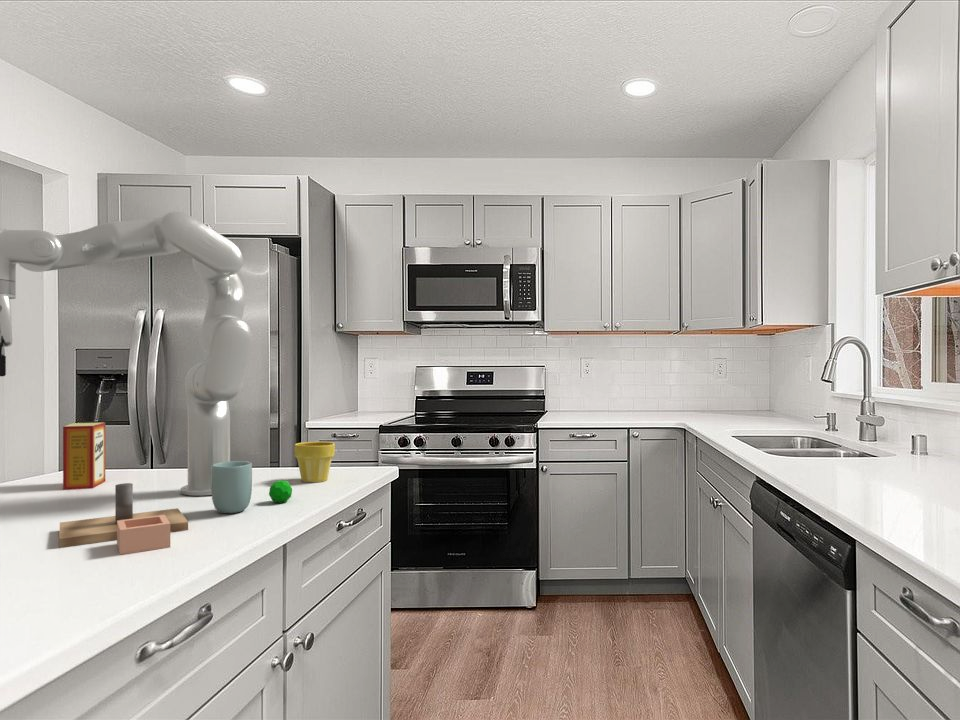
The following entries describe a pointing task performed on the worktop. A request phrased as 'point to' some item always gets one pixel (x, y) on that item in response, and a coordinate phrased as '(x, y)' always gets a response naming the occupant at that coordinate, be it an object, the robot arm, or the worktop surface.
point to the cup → (231, 486)
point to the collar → (143, 534)
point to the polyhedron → (280, 491)
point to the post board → (113, 521)
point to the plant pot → (314, 460)
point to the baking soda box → (83, 455)
